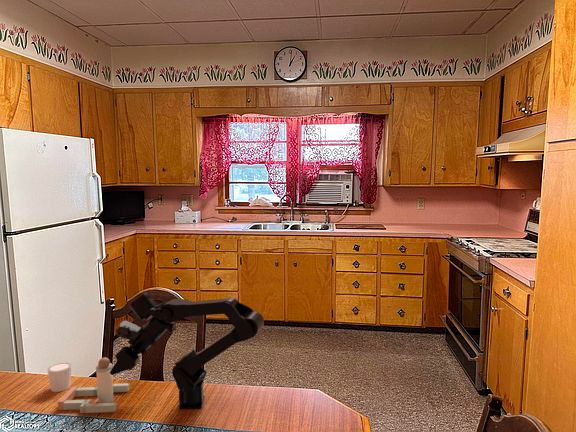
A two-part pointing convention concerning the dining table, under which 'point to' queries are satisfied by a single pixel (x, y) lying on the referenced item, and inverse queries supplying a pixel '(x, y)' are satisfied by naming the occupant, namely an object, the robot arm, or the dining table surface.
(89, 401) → the rack
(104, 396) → the pepper mill
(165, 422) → the dining table surface
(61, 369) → the shot glass
